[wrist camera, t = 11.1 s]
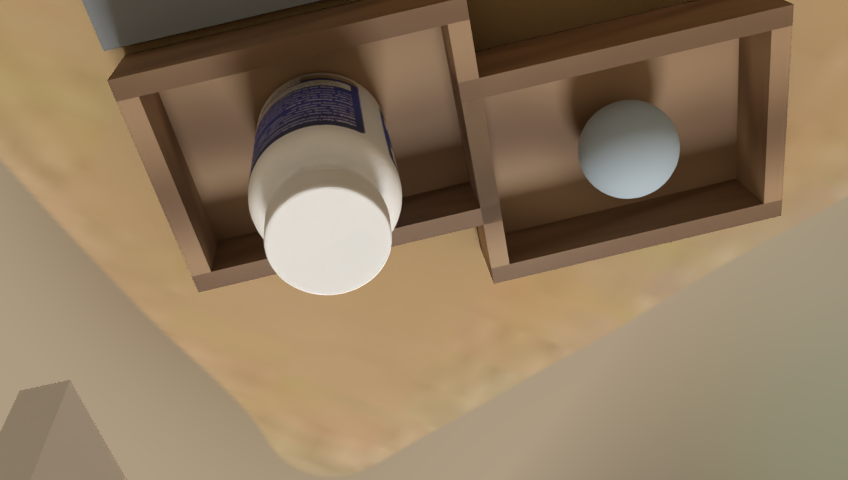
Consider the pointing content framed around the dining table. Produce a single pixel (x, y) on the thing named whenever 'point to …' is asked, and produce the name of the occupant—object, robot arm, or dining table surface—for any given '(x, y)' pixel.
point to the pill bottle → (324, 184)
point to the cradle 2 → (630, 80)
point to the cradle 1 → (264, 73)
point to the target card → (169, 16)
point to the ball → (628, 149)
